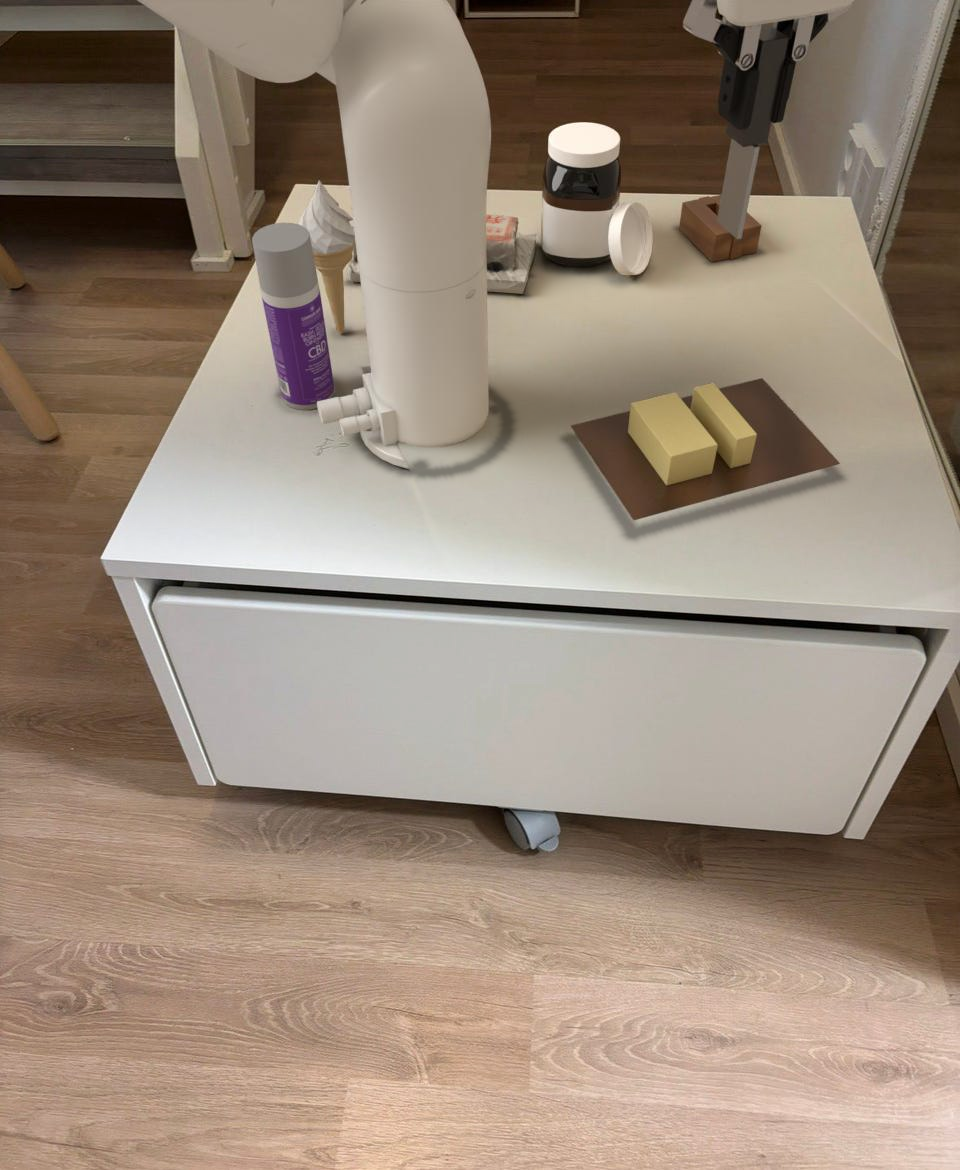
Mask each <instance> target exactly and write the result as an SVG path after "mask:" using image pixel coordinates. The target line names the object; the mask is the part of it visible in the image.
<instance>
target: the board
mask: <svg viewBox="0 0 960 1170" xmlns="http://www.w3.org/2000/svg"><path fill="white" fill-rule="evenodd" d="M718 389H719V390H720V391H721V392H722V394H723V395H724V396H725V397H726V398H727V400H728V401H729V402H730V403H731V404H732V405H733V407H734V408H735V409H736V410H737V411H738V412H739V414H740V415H741V416H742V417H743V418H744V419H745V421H746V422H747V423H748V424H749V425H750V426H751V428H752V429H753V430H754V431H755V432H756V433H757V437H756V441H755V445H754V449H753V454H752V458H751V462H750V463H749V464H745V465H742V466H738V467H734V468H730V467H729V466H728V464H727V463H726V462H725V461H724V459H723V458H722V457H721V456H720V454H719V453H718V452H717V451H716V456H715V461H714V466H713V471H712V473H711V474H708V475H704V476H701V477H697V478H693V479H690V480H686V481H682V482H678V483H675V484H671V485H666V484H665V483H664V481H663V480H662V479H661V477H660V476H659V475H658V473H657V472H656V470H655V469H654V468H653V466H652V465H651V463H650V462H649V461H648V459H647V458H646V457H645V455H644V454H643V452H642V451H641V450H640V448H639V447H638V445H637V444H636V443H635V441H634V440H633V439H632V437H631V436H630V434H629V433H628V426H629V418H630V410H627V411H623V412H619V413H616V414H612V415H607V416H603V417H599V418H595V419H591V420H586V421H583V422H580V423H575V424H571V425H570V428H571V429H572V430H573V432H574V433H575V436H576V437H577V438H578V439H579V441H580V442H581V444H582V447H584V448H585V450H586V452H587V453H588V455H589V456H590V458H591V459H592V461H593V462H594V464H595V465H596V467H597V468H598V470H599V471H600V473H601V474H602V476H603V477H604V479H605V480H606V482H607V483H608V484H609V486H610V488H611V490H612V491H613V493H615V495H616V497H617V498H618V500H619V501H620V503H621V505H622V506H623V507H624V509H625V510H626V511H627V513H628V515H629V516H630V518H631V519H632V520H633V521H637V520H641V519H644V518H648V517H651V516H655V515H659V514H662V513H667V512H669V511H674V510H677V509H681V508H684V507H685V508H686V507H688V506H691V505H692V506H693V505H696V504H699V503H702V502H703V503H704V502H706V501H709V500H713V499H714V500H715V499H717V498H720V497H726V496H728V495H732V494H735V493H739V492H743V491H746V490H750V489H754V488H757V487H760V486H765V485H768V484H772V483H775V482H776V483H777V482H780V481H782V480H783V481H784V480H787V479H790V478H794V477H797V476H801V475H805V474H808V473H812V472H816V471H820V470H823V469H827V468H831V467H834V466H838V465H840V464H841V462H840V461H839V460H838V459H837V458H836V456H834V455H833V454H832V452H831V451H830V450H829V449H828V448H827V447H826V446H825V445H824V444H823V443H822V441H820V440H819V438H818V437H817V436H816V435H815V434H814V433H813V432H812V431H811V429H810V428H808V426H806V424H805V423H804V422H803V421H802V420H801V419H800V417H799V416H798V415H797V414H796V413H795V412H794V411H793V410H792V409H791V407H789V406H788V404H787V403H786V402H785V401H784V400H783V399H782V398H781V397H780V395H778V393H777V392H776V391H775V390H774V389H773V388H772V386H771V385H769V384H768V382H767V381H766V380H765V379H764V378H763V377H761V378H756V379H752V380H749V381H743V382H740V383H736V384H732V385H729V386H728V385H727V386H724V387H720V388H718ZM692 397H693V394H691V395H688V396H684V397H680V398H681V399H682V401H683V402H684V403H685V404H686V406H687V407H688V408H689V409H691V403H692Z"/></svg>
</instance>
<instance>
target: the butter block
mask: <svg viewBox="0 0 960 1170" xmlns="http://www.w3.org/2000/svg"><path fill="white" fill-rule="evenodd" d="M681 398H682V397H680V395H679V394H678V393H677V392H676V391H675V392H670V393H667V394H662V395H659V396H655V397H651V398H647V399H642V400H639V401H634V402H631V403H630V410H629V411H630V418H629V426H628V433H629V434H630V436H631V437H632V439H633V440H634V441H635V443H636V444H637V445H638V447H639V448H640V450H641V451H642V452H643V454H644V455H645V457H646V458H647V459H648V461H649V462H650V463H651V465H652V466H653V468H654V469H655V470H656V472H657V473H658V475H659V476H660V477H661V479H662V480H663V481H664V483H665V484H666V485H671V484H675V483H678V482H682V481H686V480H690V479H693V478H697V477H701V476H704V475H708V474H711V473H712V471H713V466H714V461H715V456H716V451H717V446H718V444H717V443H716V442H715V440H714V439H713V438H712V437H711V435H710V434H709V433H708V432H707V430H706V429H705V428H704V427H703V425H702V424H701V423H700V422H699V421H698V419H697V418H696V417H695V416H694V414H693V413H692V412H691V411H690V409H689V408H688V407H687V406H686V404H685V403H684V402H683V401H682V399H681Z"/></svg>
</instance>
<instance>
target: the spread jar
mask: <svg viewBox="0 0 960 1170" xmlns="http://www.w3.org/2000/svg"><path fill="white" fill-rule="evenodd" d="M547 142H548V143H547V146H548V147H547V152H548V155H547V157H546V160H545V162H544V167H543V174H542V187H541V189H542V191H541V192H542V193H541V224H540V244H541V250H542V253H543V255H544V256H545V257H546V258H548V259H549V260H551V261H553V262H555V263H557V264H559V265H563V266H566V267H574V268H581V267H582V268H585V267H592V266H595V265H598V264H602V263H603V262H605V261H607V260H608V259H610V260H611V263H612V266H613V267H614V269H615V270H616V271H617V273H619V274H620V275H623V276H637V275H641V274H642V273H644V271H645V270H646V268H647V267H648V265H649V262H650V260H651V256H652V251H653V244H654V243H653V242H654V237H653V236H654V235H653V232H654V231H653V225H652V220H651V216H650V214H649V211H648V209H647V208H646V207H645V205H644V204H642V202H639V201H629V202H622V203H620V198H621V187H622V186H621V185H622V170H621V169H622V167H621V162H620V158H619V154H620V145H621V136H620V134H619V133H618V132H617V131H616V130H615V129H614V128H611V127H609V126H607V125H605V124H601V123H596V122H586V121H585V122H582V121H581V122H570V123H566V124H563V125H560V126H558V127H556V128H554V129H552V131H551V132H550V133H549V134H548V141H547Z"/></svg>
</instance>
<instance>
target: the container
mask: <svg viewBox="0 0 960 1170" xmlns="http://www.w3.org/2000/svg"><path fill="white" fill-rule="evenodd" d="M251 241H252V247H253V253H254V259H255V265H256V271H257V277H258V282H259V283H258V284H259V288H260V294H261V295H260V296H261V300H262V301H261V302H262V305H263V310H264V314H265V320H266V324H267V329H268V336H269V340H270V345H271V349H272V356H273V359H274V360H273V361H274V366H275V369H276V374H277V380H278V385H279V390H280V394H281V399H282V401H283V402H284V404H285V405H287V406H288V407H290V408H293V409H295V410H301V411H308V410H314V409H318V408H317V401H321V400H326V399H330V398H334V397H335V394H336V393H335V392H336V390H335V382H334V375H333V368H332V363H331V357H330V356H331V355H330V349H329V342H328V337H327V329H326V322H325V317H324V310H323V302H322V298H321V289H320V284H319V279H318V274H317V273H318V272H317V269H316V267H315V261H314V256H313V250H312V245H311V239H310V234H309V231H308V230H307V229H306V228H305V227H303V226H301V225H299V224H297V223H294V222H277V223H271V224H267V225H265V226H263V227H261V228H259V229H258V230H257V231H256V232H254V234H253V236H252V237H251Z"/></svg>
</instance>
